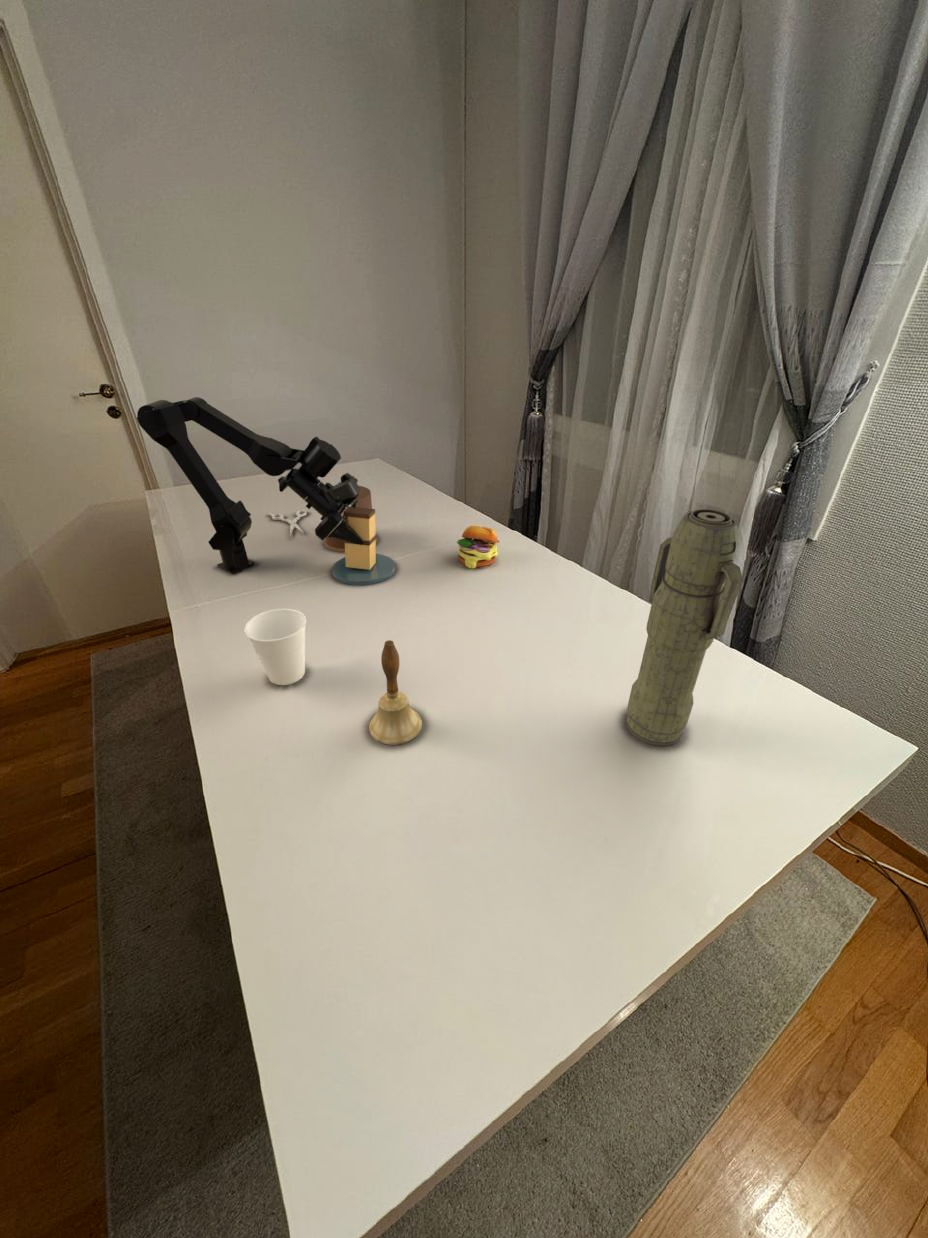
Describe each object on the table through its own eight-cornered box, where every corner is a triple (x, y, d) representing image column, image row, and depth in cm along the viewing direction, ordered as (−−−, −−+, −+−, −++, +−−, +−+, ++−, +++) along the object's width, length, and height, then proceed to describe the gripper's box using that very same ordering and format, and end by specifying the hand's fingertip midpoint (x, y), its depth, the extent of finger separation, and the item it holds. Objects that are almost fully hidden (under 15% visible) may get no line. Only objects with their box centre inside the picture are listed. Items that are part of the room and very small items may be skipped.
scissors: (304, 507, 159) (317, 531, 143) (305, 510, 159) (317, 533, 144) (268, 512, 155) (277, 537, 140) (269, 515, 156) (277, 540, 140)
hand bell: (374, 707, 85) (364, 626, 77) (424, 708, 85) (420, 627, 76) (364, 744, 78) (352, 660, 70) (419, 746, 78) (414, 662, 69)
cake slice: (345, 566, 123) (343, 511, 117) (352, 559, 128) (350, 506, 121) (370, 569, 123) (369, 514, 117) (375, 562, 127) (375, 509, 121)
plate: (319, 573, 125) (318, 569, 124) (364, 551, 135) (363, 547, 134) (364, 591, 117) (363, 587, 117) (407, 567, 128) (407, 563, 127)
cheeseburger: (449, 565, 128) (452, 525, 124) (465, 558, 137) (468, 520, 134) (488, 572, 125) (492, 531, 121) (501, 564, 134) (505, 525, 131)
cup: (263, 700, 86) (248, 647, 80) (253, 668, 94) (239, 616, 88) (322, 683, 90) (312, 631, 84) (308, 653, 98) (299, 603, 92)
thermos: (667, 762, 76) (736, 541, 57) (606, 715, 84) (648, 508, 65) (703, 737, 80) (779, 523, 61) (642, 695, 88) (692, 495, 69)
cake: (313, 543, 139) (305, 495, 132) (351, 526, 148) (346, 480, 141) (350, 557, 132) (343, 506, 125) (387, 538, 142) (383, 491, 134)
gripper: (321, 479, 105) (380, 532, 110) (345, 454, 120) (395, 501, 126) (290, 515, 109) (347, 564, 115) (317, 486, 125) (366, 530, 131)
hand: (366, 538), depth 121 cm, fingers closed on cake slice, 6 cm apart
